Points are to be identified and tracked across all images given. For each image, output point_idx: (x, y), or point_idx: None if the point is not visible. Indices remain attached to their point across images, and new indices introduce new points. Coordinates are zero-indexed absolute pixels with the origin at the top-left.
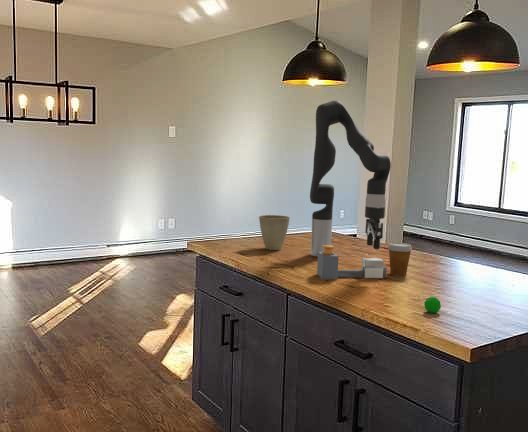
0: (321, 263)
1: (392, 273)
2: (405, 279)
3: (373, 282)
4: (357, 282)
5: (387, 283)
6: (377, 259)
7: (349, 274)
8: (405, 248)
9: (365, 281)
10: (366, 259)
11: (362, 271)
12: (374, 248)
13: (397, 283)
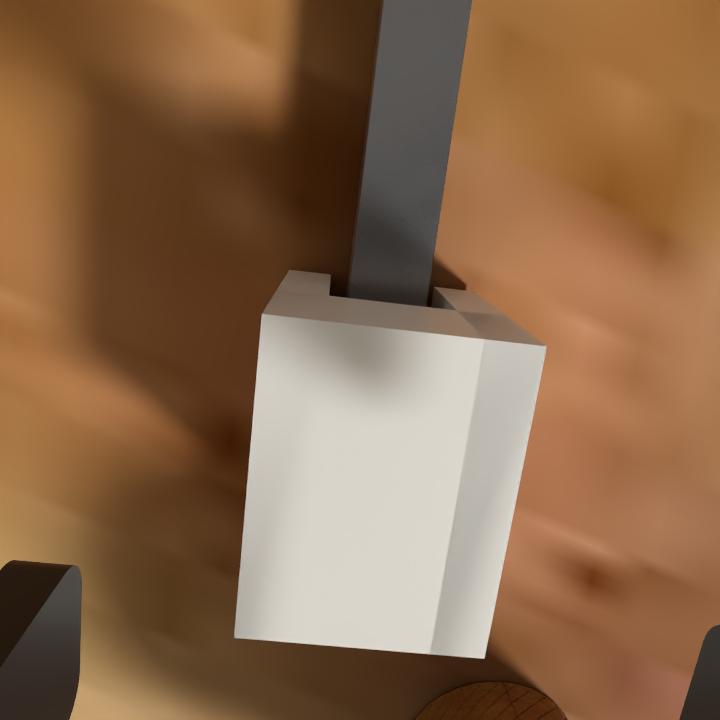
0: None
1: (470, 690)
2: (207, 712)
3: (61, 284)
4: (59, 50)
5: (10, 438)
6: (354, 576)
7: (376, 50)
8: None
9: (118, 197)
10: (375, 367)
11: (354, 260)
12: (17, 575)
13: (13, 551)
